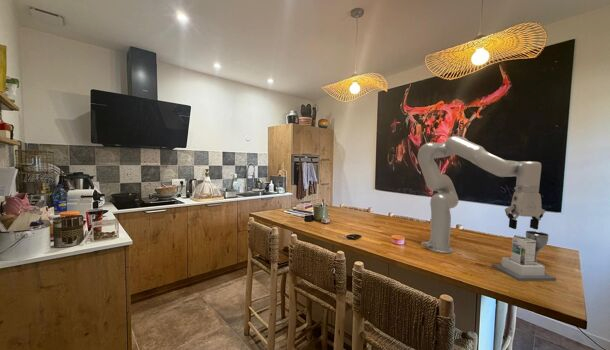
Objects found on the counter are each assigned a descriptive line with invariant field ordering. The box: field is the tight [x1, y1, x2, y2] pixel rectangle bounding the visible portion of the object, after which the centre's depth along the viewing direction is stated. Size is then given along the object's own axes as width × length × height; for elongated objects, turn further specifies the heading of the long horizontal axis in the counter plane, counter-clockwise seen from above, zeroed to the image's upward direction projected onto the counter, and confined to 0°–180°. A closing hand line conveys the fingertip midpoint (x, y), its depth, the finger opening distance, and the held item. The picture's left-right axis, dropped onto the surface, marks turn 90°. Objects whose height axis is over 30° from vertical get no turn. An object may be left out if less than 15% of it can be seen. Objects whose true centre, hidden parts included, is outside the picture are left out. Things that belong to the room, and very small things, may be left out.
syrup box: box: [510, 235, 536, 265], centre depth 109 cm, size 6×6×14 cm
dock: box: [491, 256, 557, 281], centre depth 109 cm, size 16×14×5 cm
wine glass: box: [525, 230, 549, 267], centre depth 119 cm, size 8×8×15 cm
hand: (523, 228), depth 108 cm, fingers open, 9 cm apart
